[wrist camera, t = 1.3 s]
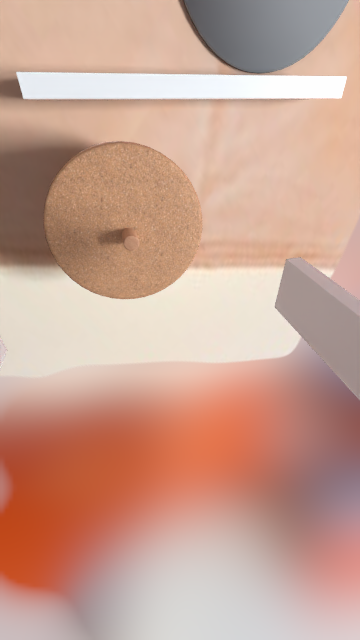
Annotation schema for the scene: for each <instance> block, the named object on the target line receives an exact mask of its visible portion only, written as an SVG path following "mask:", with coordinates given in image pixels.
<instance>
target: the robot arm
mask: <svg viewBox="0 0 360 640" xmlns="http://www.w3.org/2000/svg"><path fill="white" fill-rule="evenodd" d="M275 308H276V309H277V310H278V311H279V312H280V313H281V315H282V316H283V317H284V318H285V319H286V320H287V321H288V322H289V323H290V324H291V326H292V327H293V328H294V329H295V330H296V331H297V332H298V333H299V334H300V335H301V336H302V338H303V339H304V340H305V341H306V342H307V343H308V344H309V345H310V346H311V347H312V348H313V349H314V351H315V352H316V353H317V354H318V355H319V356H320V357H321V358H322V359H323V361H325V363H326V364H327V365H328V366H329V367H330V368H331V369H332V370H333V372H334V373H335V374H336V375H337V376H338V377H339V378H340V379H341V380H342V381H343V383H344V384H345V385H346V386H347V387H348V388H349V389H350V390H351V391H352V392H353V393H354V395H355V396H356V397H357V398H358V399H359V400H360V300H359V299H358V298H356V297H355V296H353V295H352V294H351V293H349V292H348V291H346V290H345V289H344V288H342V287H341V286H339V285H338V284H337V283H335V282H334V281H333V280H331V279H330V278H328V277H327V276H326V275H324V274H323V273H322V272H320V271H319V270H317V269H316V268H315V267H313V266H312V265H310V264H309V263H308V262H306V261H305V260H304V259H302V258H301V257H299V258H291V259H286V262H285V266H284V270H283V274H282V279H281V283H280V287H279V291H278V295H277V299H276V303H275ZM6 352H7V349H6V347H5V345H4V343H3V341H2V339H1V337H0V369H1V366H2V363H3V360H4V358H5V355H6Z"/></svg>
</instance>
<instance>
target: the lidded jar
mask: <svg viewBox="0 0 360 640" xmlns="http://www.w3.org/2000/svg"><path fill="white" fill-rule="evenodd" d="M44 230H45V236H46V240H47V243H48V245H49V248H50V251H51V253H52V255H53V256H54V258H55V260H56V262H57V263H58V264H59V266H60V267H61V268H62V270H63V271H64V272H65V273H66V274H67V275H68V276H69V277H70V278H71V279H72V280H74V281H75V282H76V283H78V284H79V285H80V286H82V287H84V288H85V289H87V290H89V291H91V292H93V293H96V294H99V295H102V296H106V297H110V298H117V299H135V298H141V297H146V296H149V295H152V294H155V293H157V292H159V291H161V290H163V289H165V288H166V287H168V286H169V285H171V284H173V283H174V282H175V281H176V280H177V279H178V278H179V277H180V276H181V275H182V274H183V273H184V272H185V271H186V270H187V268H188V267H189V265H190V264H191V262H192V261H193V259H194V257H195V254H196V252H197V250H198V247H199V243H200V240H201V233H202V213H201V207H200V203H199V200H198V197H197V194H196V192H195V190H194V188H193V186H192V184H191V182H190V180H189V179H188V178H187V176H186V175H185V174H184V172H183V171H182V170H181V169H180V168H179V167H178V166H177V165H176V164H175V163H174V162H173V161H172V160H170V159H169V158H167V157H166V156H165V155H163V154H162V153H160V152H158V151H156V150H154V149H152V148H150V147H147V146H144V145H140V144H137V143H132V142H123V141H111V142H103V143H100V144H96V145H93V146H91V147H89V148H87V149H85V150H83V151H81V152H80V153H78V154H77V155H75V156H74V157H73V158H72V159H70V160H69V161H68V162H67V163H66V164H65V165H64V166H63V167H62V169H61V170H60V171H59V172H58V174H57V175H56V177H55V179H54V180H53V182H52V184H51V186H50V188H49V191H48V194H47V197H46V200H45V206H44Z"/></svg>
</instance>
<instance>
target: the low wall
mask: <svg viewBox="0 0 360 640" xmlns="http://www.w3.org/2000/svg"><path fill="white" fill-rule="evenodd" d="M16 73H17V77H18V81H19V84H20V88H21V92H22V95H23V99H29V100H176V99H325V98H341V97H342V93H343V89H344V86H345V82H346V78H347V77H336V76H265V75H195V74H125V73H55V72H16Z"/></svg>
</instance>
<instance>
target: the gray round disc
mask: <svg viewBox="0 0 360 640" xmlns="http://www.w3.org/2000/svg"><path fill="white" fill-rule="evenodd" d="M348 1H349V0H184V3H185V5H186V8H187V10H188V13H189V15H190V17H191V20H192V21H193V23H194V25H195V27H196V29H197V30H198V32H199V34H200V35H201V37H202V38H203V40H204V41H205V42H206V44H207V45H208V46H209V47H210V48H211V50H212V51H213V52H214V53H215V54H216V55H217V56H218V57H220V58H221V59H222V60H224V61H225V62H226V63H227V64H229V65H231V66H233V67H235V68H237V69H240V70H243V71H246V72H252V73H268V72H273V71H277V70H281V69H284V68H286V67H288V66H290V65H292V64H294V63H296V62H297V61H299V60H300V59H302V58H303V57H305V56H306V55H307V54H308V53H309V52H311V51H312V50H313V49H314V48H315V47H316V46H317V45H318V44H319V43H320V42H321V41H322V40H323V39H324V37H325V36H326V35H327V34H328V32H329V31H330V30H331V28H332V27H333V26H334V24H335V23H336V21H337V20H338V18H339V17H340V15H341V14H342V12H343V10H344V8H345V7H346V5H347V3H348Z"/></svg>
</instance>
